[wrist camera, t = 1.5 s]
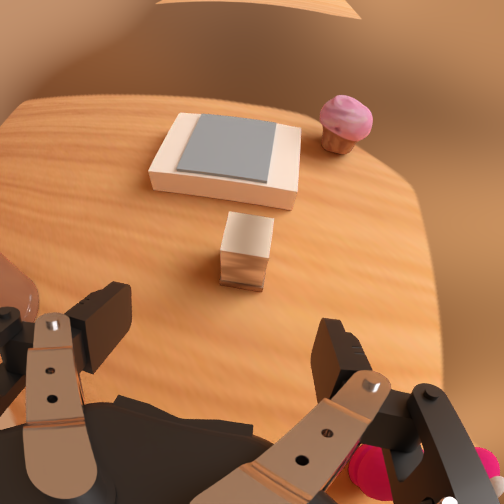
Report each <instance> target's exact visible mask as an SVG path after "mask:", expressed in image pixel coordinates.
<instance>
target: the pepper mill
mask: <svg viewBox="0 0 504 504" xmlns="http://www.w3.org/2000/svg"><path fill="white" fill-rule="evenodd" d="M475 449H476V451H477V453H478V455H479V457H480V460H481V462H482V464H483V466H484V468H485V470H486V472H487V474H488V477H489V479H490V481H491V483H492V486H493V488H494V490H495V493H496V495H497V497H499V496H500V495H502V493H503V492H504V478H503V477H501V476H500V467H499V463H498V461H497V458H496V457H495V456H494V455H493V454H492V452H490V451H488V450H486V449H483V448H480V447H475ZM422 451H423V450H422ZM423 453H424V451H423ZM348 471H349V477H350V479H351V481H352V482H353V483H354V484H355V485H357V486H358V487H360V489H361V490H362V491H363V493H365V494H366V495H367V496H368V497H370V498H373V499H376V500H380V501H393V498H392V493H391V488H390V484H389V479H388V474H387V470H386V466H385V462H384V457H383V453H382V449H381V448H380V447H375V446H371V445H366V444H364V445H362V446H361V447H360V448H358V450H357V451H356V452H355V453H354V455H353V456H352V458H351V460H350V463H349V469H348Z"/></svg>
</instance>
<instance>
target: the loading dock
mask: <svg viewBox="0 0 504 504" xmlns="http://www.w3.org/2000/svg"><path fill="white" fill-rule="evenodd" d="M300 144H301V128H299V127H293V126H288V125H282V124H277V123H274V122H268V121H261V120H254V119H247V118H239V117H231V116H221V115H211V114H190V113H179V115H178V116H177V118H176V120H175V122H174V123H173V125H172V127H171V129H170V130H169V132H168V134H167V136H166V138H165V139H164V141H163V143H162V145H161V147H160V149H159V151H158V153H157V154H156V156H155V158H154V160H153V162H152V164H151V166H150V168H149V170H148V173H149V176H150V180H151V184H152V187H153V190H157V191H165V192H173V193H181V194H188V195H196V196H203V197H210V198H217V199H224V200H230V201H237V202H243V203H250V204H256V205H262V206H268V207H274V208H280V209H286V210H292V209H293V205H294V202H295V198H296V195H297V191H298V176H299V161H300Z"/></svg>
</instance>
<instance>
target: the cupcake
mask: <svg viewBox="0 0 504 504" xmlns="http://www.w3.org/2000/svg"><path fill="white" fill-rule="evenodd" d="M320 122H321V124H322V125H323V135H322V140H321V144H322V147H323V148H324V149H325V150H327V151H331V152H334V153H338V154H347V153H349V152H350V151H351V150H352V149H353V147H354V145H355V144H356V143H357V142H358V141H360V140H361V139H364V138H365V137H366V136H367V135H368V134H369V133H370V131H371V127H372V122H373V119H372V114H371V111H370V110H369V109H368V108H367V107H366V106H364V105H363V104H361V103H360V102H359V101H357V100H355V99H354V98H352V97H349V96H345V95H338V96H335V97H334V98H333V99H331V100H329V101H328V102H326V103H325V105H324V106H323V108H322V110H321V112H320Z"/></svg>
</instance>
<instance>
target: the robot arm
mask: <svg viewBox="0 0 504 504" xmlns="http://www.w3.org/2000/svg"><path fill="white" fill-rule="evenodd" d="M38 303H39V299H38V292H37V289H36V286H35V284H34V283H33V282H32V281H31V280H30V279H29V278H28V277H27V276H26V275H25V274H23V273H22V272H21V271H20V270H19V269H18V268H17V267H16V266H15V265H13V264H12V263H11V262H10V261H9V260H8V259H7V258H6V257H5V256H4V255H3V254H2V253H1V252H0V354H1V357H2V360H3V362H2V363H1V364H0V416H1V415H2V414H3V413H4V411H5V410H6V409H7V408H8V407H9V405H10V404H11V403H12V402H13V400H14V399H15V398H16V397H17V396H18V394H19V393H20V392H21V391H22V390H23V389H24V387H25V386H26V423H25V424H21V425H18V426H14V427H10V428H7V429H3V430H0V504H337V503H336V502H335V501H334V500H333V499H332V498H331V497H330V496H329V495H328V494H327V493H326V490H327V489H328V488H329V486H330V485H331V484H332V483H333V481H334V480H335V479H336V477H337V476H338V475H339V473H340V472H341V471H342V469H343V468H344V467H345V465H346V464H347V463H348V461H349V460H350V458H351V457H352V456H353V454H354V453H355V451H356V450H357V449H358V447H359V446H360V444H361V443H362V444H366V445H371V446H375V447H380V448H381V449H382V453H383V457H384V462H385V466H386V470H387V474H388V479H389V484H390V488H391V493H392V498H393V503H394V504H500V502H499V500H498V497H497V495H496V493H495V490H494V488H493V486H492V483H491V481H490V479H489V477H488V474H487V472H486V470H485V468H484V466H483V464H482V462H481V460H480V457H479V455H478V453H477V451H476V449H475V447H474V445H473V443H472V441H471V439H470V437H469V436H468V434H467V432H466V430H465V428H464V426H463V424H462V422H461V420H460V419H459V417H458V415H457V413H456V411H455V410H454V408H453V406H452V404H451V403H450V401H449V399H448V397H447V395H446V394H445V393H444V392H443V391H442V390H441V389H440V388H438V387H436V386H434V385H431V384H426V383H422V384H418V385H416V386H415V387H414V389H413V391H412V393H411V394H409V393H404V392H400V391H395V390H392V389H391V384H390V382H389V380H388V379H387V378H386V377H385V376H383V375H382V374H380V373H377V372H374V371H373V370H372V368H371V366H370V364H369V361H368V359H367V357H366V355H365V354H364V351H363V348H362V346H361V344H360V342H359V340H358V339H357V338H356V337H355V336H354V335H353V334H352V333H349V332H345V329H344V327H343V325H342V323H341V321H340V320H336V319H328V318H322V319H321V321H320V324H319V328H318V331H317V335H316V338H315V342H314V345H313V349H312V353H311V368H312V374H313V379H314V385H315V391H316V396H317V402H318V405H317V406H315V407H314V408H313V409H312V410H311V411H310V412H309V413H308V414H307V415H306V416H305V417H304V418H303V419H302V420H301V421H300V422H299V423H298V424H297V425H295V426H294V427H293V428H292V429H291V430H290V431H289V432H288V433H287V434H285V435H284V436H283V437H282V438H281V439H280V440H279V441H277V442H276V443H275V444H273V443H271V442H269V441H267V440H265V439H263V438H261V437H258V436H255V435H253V425H250V424H243V423H236V422H230V421H224V420H204V419H181V418H178V417H175V416H173V415H171V414H169V413H167V412H165V411H162V410H160V409H158V408H156V407H154V406H152V405H150V404H148V403H144V402H141V401H137V400H134V399H131V398H127V397H124V396H121V395H118V396H117V398H116V399H115V401H114V403H107V402H99V403H89V404H86V402H85V398H84V393H83V388H82V383H81V378H80V374H79V373H80V372H81V371H82V370H83V371H85V372H88V373H91V374H94V373H95V372H96V370H97V369H98V368H99V366H100V365H101V364H102V363H103V362H104V360H105V359H106V358H107V357H108V355H109V354H110V353H111V352H112V350H113V349H114V348H115V347H116V345H117V344H118V343H119V342H120V341H121V339H122V338H123V337H124V336H125V335H126V333H127V332H128V331H129V329H130V326H131V322H132V304H131V287H130V285H128V284H124V283H119V282H115V281H113V282H111V283H110V284H109V285H107V286H106V287H105V288H104V289H102V290H98V291H95V292H93V293H91V294H89V295H88V296H87V297H85V299H83V300H81V301H80V302H79V303H77V304H76V305H75V306H74V307H72V308H71V309H70V310H68V311H67V312H66V313H65V314H61V313H47V314H44V315H42V316H40V317H39V318H38V319H37V320H36V322H35V323H33V322H34V320H35V318H36V315H37V311H38ZM421 442H422V445H423V448H424V453H423V451H422V448H421V445H420V444H421Z"/></svg>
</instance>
